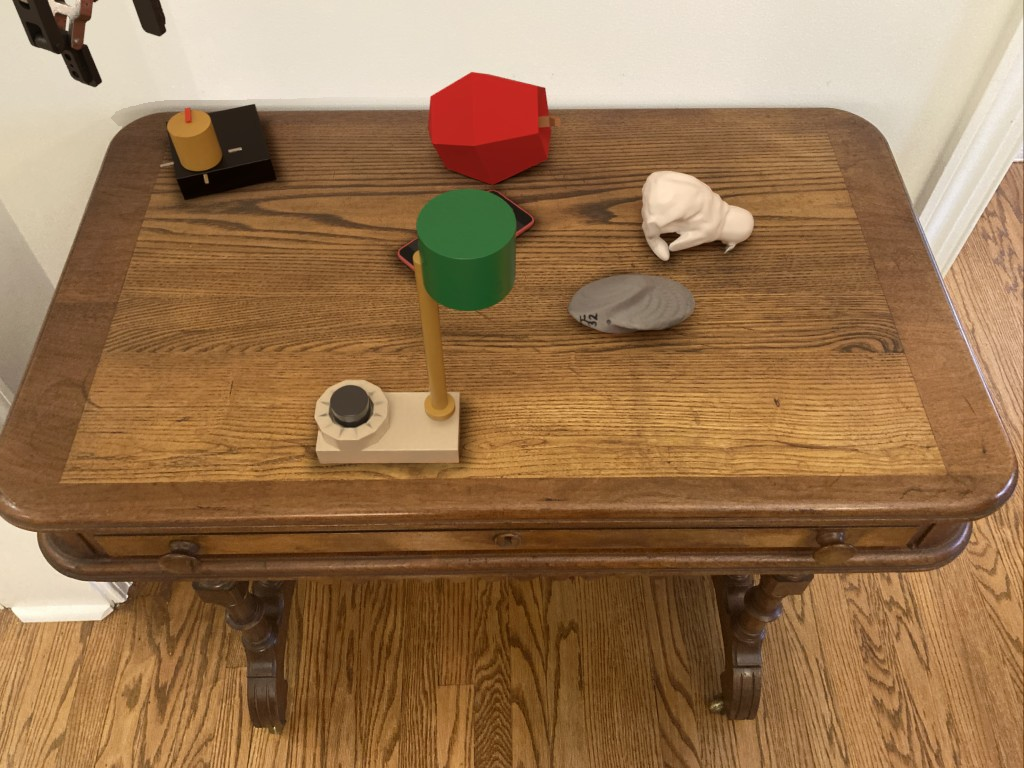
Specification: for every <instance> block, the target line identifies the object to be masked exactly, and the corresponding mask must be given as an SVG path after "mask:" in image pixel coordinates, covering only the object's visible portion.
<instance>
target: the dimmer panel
mask: <svg viewBox="0 0 1024 768" xmlns="http://www.w3.org/2000/svg"><path fill="white" fill-rule="evenodd" d="M257 109H258V108H257V106H256V104H255V103H252V104H246V105H241V106H235V107H232V108H226V109H222V110H216V111H212V112H208V113H207V114H208V115H209V117H210V119H211V122H212V125H213V127H214V130H215V133H216V136H217V139H218V142H219V145H220V148H221V151H222V159H221V161H220V162H219V163H218V164H217V165H216V166H214V167H213V168H210V169H208V170H204V171H191V170H188V169H186V168H184V167H183V166H182V164H181V162H180V159H179V157H178V154H177V152H176V149H175V147H174V144H173V142H172V139H171V136H170V134H169V131H168V129H167V124H168V122H169V120H168V121H165V122H164V123H165V128H166V131H167V132H166V133H167V139H168V144H169V149H170V155H171V159H172V161H171V162H166V163H162V164H159V166H160V168H167V167H172V166H173V170H174V176H175V180H176V182H177V185H178V187H179V190H180V192H181V194H182V198H183V199H184V201H188V200H192V199H193V200H194V199H198V198H201V197H207V196H210V195H214V194H219V193H223V192H224V193H225V192H229V191H233V190H238V189H242V188H246V187H250V186H251V187H252V186H255V185H256V186H257V185H260V184H264V183H269V182H273V181H274V182H275V181H277V176H276V171H275V168H274V165H273V162H272V157H271V154H270V151H269V147H268V143H267V140H266V137H265V133H264V130H263V126H262V123H261V120H260V117H259V113H258V110H257Z"/></svg>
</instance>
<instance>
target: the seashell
mask: <svg viewBox="0 0 1024 768" xmlns="http://www.w3.org/2000/svg"><path fill="white" fill-rule="evenodd" d="M695 308H696V300H695V296H694V295H693V293H692V292H691V291H690V289H688V288H687V287H686V286H685V285H683V284H682V283H679V281H676V280H674V279H671V278H666V277H664V276H659V275H653V274H640V273H629V274H628V273H627V274H625V273H623V274H617V275H610V276H607V277H604V278H600V279H597V280H593V281H591V282H589V283H587V284H585V285H583V286H582V287H580V288H579V289H578V290H577V291H576V292H574V294H573V296H572V297H571V299H570V301H569V303H568V305H567V312H568V313H569V315H570V316H571V317H572V318H574V319H575V320H576V321H577V322H579V323H580V324H582V326H583V325H584V326H586V327H588V328H590V329H594V330H595V331H599V332H602V333H605V334H614V335H623V334H631V333H635V332H638V331H660V330H665V329H670V328H674V327H676V326H678V325H680V324H681V323H684V321H685V320H686V319H688V318H689V317H691V315H693V314H694V310H695Z"/></svg>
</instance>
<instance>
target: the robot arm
mask: <svg viewBox="0 0 1024 768" xmlns="http://www.w3.org/2000/svg"><path fill="white" fill-rule="evenodd" d="M11 1H12V3H13V6H14V8H15V11H16V13H17V15H18V17H19V20H20V22H21V25H22V27H23V30H24V32H25V35H26V37H27V40H28V42H29V44H30V45H31V46H32V47H34V48H37V49H42V50H45V51H48V52H51V53H53V54H55V55H61V57H62V60H63V63H64V64H65V66H66V69H67V71H68V73H69V75H70V77H71V78H72V79H73V80H74V81H76V82H80V83H81V84H84V85H86V86H89V87H92V88H97V87H98V86H99V85H101V84H102V83H103V79H102V77H101V74H100V72H99V70H98V67H97V65H96V62H95V60H94V58H93V55H92V53H91V51H90V49H89V45H88V44H86V43H84V42H85V33H86V24H87V23H88V22H89V21H91V19H92V14H93V8H94V7H93V6H94V4H95V3H97V2H98V1H99V0H75V2H74V3H75V4H74V5H70V4H67V2H66V0H11ZM131 2H132V4H133V6H134V9H135V12H136V14H137V18H138V21H139V23H140V27H141V28H142V30H143V31H144V32H145V33H147V34H150V35H153V36H156V37H162V36H163V35H164V34H165V33H167V27H166V25H167V24H166V23H167V22H166V15H165V13H164V9H163V6H162V3H161V0H131ZM67 19H68V20H69V21H68V20H67ZM67 21H68V30H67Z"/></svg>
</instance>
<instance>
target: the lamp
mask: <svg viewBox="0 0 1024 768" xmlns="http://www.w3.org/2000/svg"><path fill="white" fill-rule="evenodd" d="M487 191H488V190H487ZM487 191H486V190H483V189H476V188H459V189H452V190H448V191H445V192H443V193H440V194H438V195H436V196H434V197H433V198H430V200H429V201H427V202H426V203H425V204H424V205H423V207H422V208H421V209H420V211H419V213H418V215H417V217H416V222H415V224H416V225H415V226H416V227H415V228H416V238H417V237H418V246H419V250H418V251H417V252H415V253H414V255H413V264H414V271H415V272H414V271H413V272H414V278H415V286H416V294H417V301H418V303H417V304H418V310H419V319H420V327H421V334H422V341H423V342H422V343H423V349H424V359H425V366H426V374H427V381H428V392H430V395H429V396H428V397H427V398H426V399H425V402H424V408H425V413H426V415H427V416H428V417H429V418H430V419H432V420H435V421H444V420H447V419H449V418H450V417H451V416H452V415H453V414H454V412H455V400H454V398H453V396H452V395H450V394H449V393H447V392H448V387H447V380H446V370H445V358H444V349H443V338H442V329H441V327H442V326H441V319H440V318H441V317H440V305H441V306H443V307H445V308H447V309H451V310H454V311H460V312H477V311H481V310H485V309H489V308H491V307H493V306H495V305H497V304H498V303H500V302H502V301H503V300H504V299H505V298H506V297H507V296H508V295H509V294H510V293H511V291H512V289H513V287H514V286H515V281H516V275H517V273H516V271H517V270H516V268H517V267H516V266H517V265H516V263H517V261H516V260H517V237H516V218H515V214H514V212H513V210H512V209H511V207H510V206H509V205H508V204H507V203H506V202H505V201H504V200H503V199H501V198H500V197H498V196H497V195H494V194H492V193H490V192H487Z"/></svg>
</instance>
